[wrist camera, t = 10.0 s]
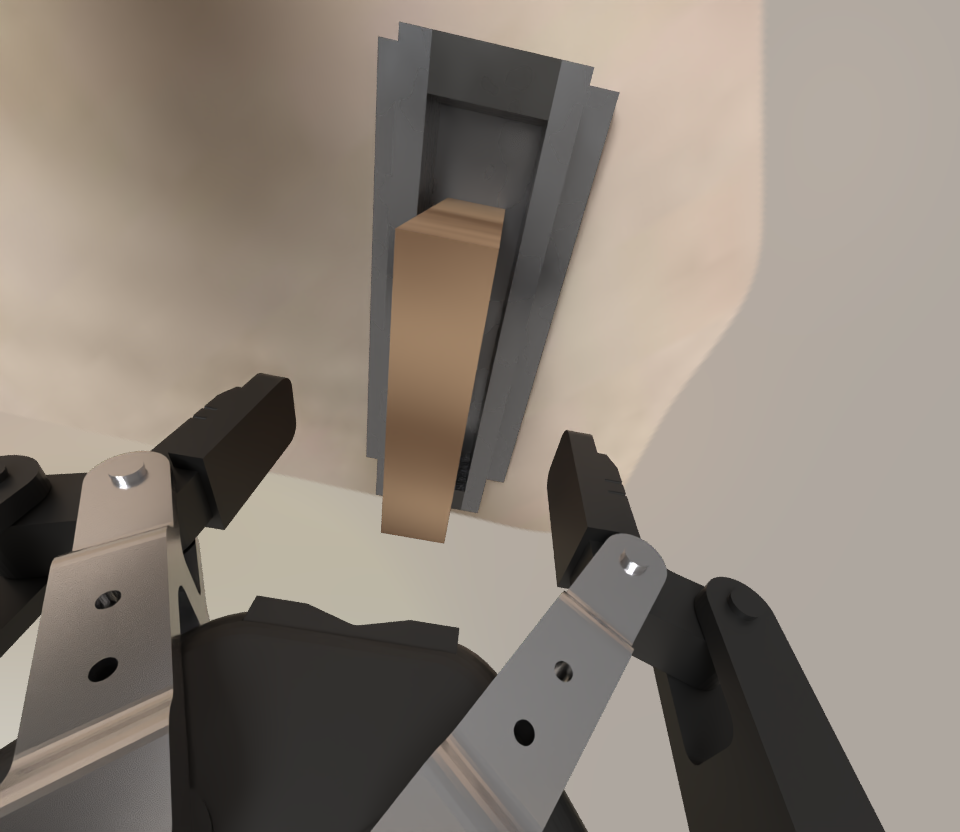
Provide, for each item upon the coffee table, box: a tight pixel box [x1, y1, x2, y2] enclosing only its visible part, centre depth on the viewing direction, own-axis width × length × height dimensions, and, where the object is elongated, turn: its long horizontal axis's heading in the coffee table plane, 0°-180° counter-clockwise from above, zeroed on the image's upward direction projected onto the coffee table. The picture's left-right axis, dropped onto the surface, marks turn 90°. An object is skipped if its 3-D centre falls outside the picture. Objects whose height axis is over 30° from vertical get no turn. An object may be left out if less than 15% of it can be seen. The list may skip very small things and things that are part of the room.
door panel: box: [381, 198, 505, 543], centre depth 16 cm, size 11×2×9 cm, turn 170°
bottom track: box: [366, 22, 619, 513], centre depth 19 cm, size 20×9×4 cm, turn 170°
